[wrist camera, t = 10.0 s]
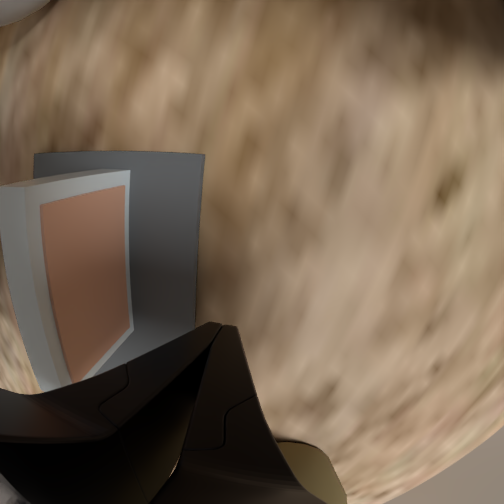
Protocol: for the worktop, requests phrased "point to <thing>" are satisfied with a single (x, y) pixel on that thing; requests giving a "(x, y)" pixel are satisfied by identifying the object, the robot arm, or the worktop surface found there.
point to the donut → (18, 9)
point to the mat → (151, 238)
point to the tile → (68, 270)
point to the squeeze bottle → (314, 471)
